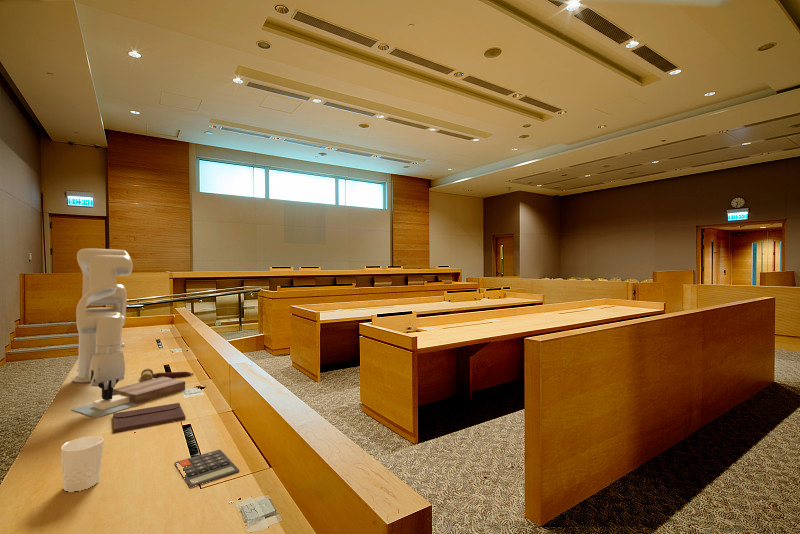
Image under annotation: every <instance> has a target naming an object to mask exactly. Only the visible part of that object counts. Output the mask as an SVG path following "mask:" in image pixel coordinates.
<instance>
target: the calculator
mask: <svg viewBox="0 0 800 534" xmlns="http://www.w3.org/2000/svg"><path fill="white" fill-rule="evenodd" d="M176 463H179V464H180V465H181V466H182V467H184V468H183V471H185V473H186V475H185V477H184V478H185V479H184V478H183V479H184V481H185V480H186V481H187V483H188V484H187V483H186V484H187V485H189V486H190V487H193V486H195V485H199V484H202V483H205V484H207V483H206V482H208V483H210V482H209V481H211V482H213V480H214V481H216V480H219V479H222V478H225V477H229V476H232V475H234V474H237V473H239V472H240V469H239V468H238V467H237V466H236V464H235V463H234V462H232V460H231V459H230V458H229V457H228V456H227V455H226V454H225V453H224V452H223V451H222V450H221V449H217V450H213V451H210V452H206V453H202V454H199V455H196V456H192V457H189V458H184V459H182V460H179V461H175V462H174V465H175V464H176ZM176 465H177V464H176ZM186 466H187V467H186ZM190 480H191V481H194V482H191V481H190ZM197 480H198V482H196V483H195V481H197ZM186 481H185V482H186ZM202 485H203V484H202ZM189 486H188V487H189ZM199 486H200V485H199ZM190 487H189V488H190ZM193 488H194V487H193Z"/></svg>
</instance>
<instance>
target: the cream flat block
mask: <svg viewBox="0 0 800 534" xmlns="http://www.w3.org/2000/svg"><path fill="white" fill-rule="evenodd" d="M128 402H129V396H125V395H121V394H118V395H115V396H112V399H109V400H104V399H102V398H101V399H97V400H93V401H92V403H93V407H95V408H98V409H102V410H104V409H107V408H111V407H114V406H118V405H121V404H124V403H128Z"/></svg>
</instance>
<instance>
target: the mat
mask: <svg viewBox="0 0 800 534" xmlns="http://www.w3.org/2000/svg"><path fill="white" fill-rule="evenodd" d="M137 406H139V404H135V403H131V402H128V403H124V404H121V405H118V406H114V407H111V408H107V409H104V410H102V409H98V408H95V407H93V402H91V403H90V404H85V405H83V406H82V405H81V406H78V407H75V408H71V411H73V412H75V413H79V414H81V415H85V416H88V417H92V418H95V419H97V418H100V417H104V416H108V415H110V414H113V413H119V412H120V411H121V412H122V411H123V410H127V409H131V408H135V407H137Z"/></svg>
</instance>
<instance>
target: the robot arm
mask: <svg viewBox="0 0 800 534" xmlns="http://www.w3.org/2000/svg"><path fill="white" fill-rule="evenodd" d="M76 259H77V260H76V261H77V263H78V266H79V268H80V270H81V273H82V289H81V290H82V296H81V298H80V299H79V301H78V303H77V305H76V310H75V315H76V318H75V321H76V328H77V331H78V358H77V359H78V360H77V361H78V363H77V369H76V372H77V375H76V376H74V377H73V380H72V381H73V382H74V383H80V384H81V383H90V384H89V386H90V387H99V388H100V389H101V399H104V400H109V399H112V396H113V389H115V388H116V385H117V384H118V383H119V382H121V381H123V380H125V374H126V361H125V355H124V354H125V353H124V351H123V350H122V348H124V347H125V346H126V345H125V343H122V330H123V329H122V328H123V327H124V325H125V323H126V319H127V318H126V317H127V301H128V300H127V299H128V298H127V297H128V294H127V292H128V291H127V288H126V286H124V285H123V284H121V283H120V284H119V283H117V276H130V275H131V274H132V272H133V269H134V265H133V260H132V258H131V255H130V254H129V253H128V252H127V251H126V250H124V249H117V248H116V249H113V248H95V247H94V248H93V247H92V248H87V247H86V248H82V249H79V250H78V251H77V253H76ZM88 306H92V307H90V308H89V307H88ZM93 306H94V307H93ZM95 306H106V307H95ZM107 306H108V307H107ZM110 306H111V307H110Z"/></svg>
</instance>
